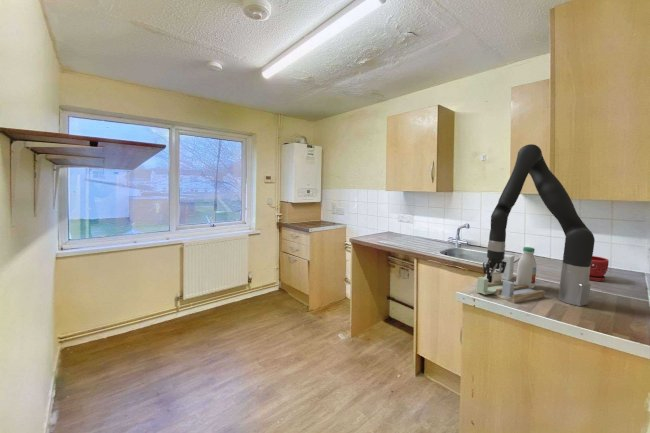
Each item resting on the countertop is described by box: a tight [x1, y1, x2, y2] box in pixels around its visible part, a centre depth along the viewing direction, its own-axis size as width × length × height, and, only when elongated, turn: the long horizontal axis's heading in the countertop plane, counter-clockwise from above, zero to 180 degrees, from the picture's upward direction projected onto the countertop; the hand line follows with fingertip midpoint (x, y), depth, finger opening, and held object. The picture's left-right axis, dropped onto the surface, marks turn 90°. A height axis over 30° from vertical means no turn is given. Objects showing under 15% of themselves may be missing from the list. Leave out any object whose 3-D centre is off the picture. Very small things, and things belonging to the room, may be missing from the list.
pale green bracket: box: [475, 276, 503, 295], centre depth 134 cm, size 5×19×7 cm, turn 110°
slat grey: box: [500, 280, 536, 299], centre depth 130 cm, size 5×19×7 cm, turn 110°
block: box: [484, 270, 502, 283], centre depth 144 cm, size 5×5×5 cm
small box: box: [501, 253, 516, 281], centre depth 156 cm, size 8×6×13 cm
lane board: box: [488, 279, 546, 304], centre depth 134 cm, size 16×20×3 cm
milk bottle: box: [515, 246, 537, 289], centre depth 143 cm, size 8×8×20 cm
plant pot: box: [589, 255, 610, 282], centre depth 157 cm, size 13×13×12 cm
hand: (493, 281), depth 144 cm, fingers closed on block, 5 cm apart
